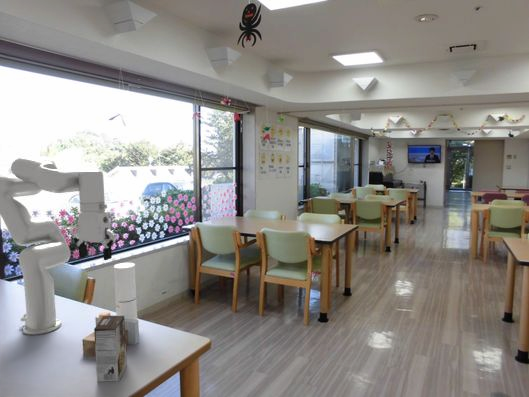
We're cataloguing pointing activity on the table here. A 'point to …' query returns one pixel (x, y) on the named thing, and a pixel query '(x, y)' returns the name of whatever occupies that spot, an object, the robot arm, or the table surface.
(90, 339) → the block
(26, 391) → the table surface
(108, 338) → the coffee box
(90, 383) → the table surface
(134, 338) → the backstop wall
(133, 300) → the cylindrical container
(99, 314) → the peach rounded capsule
